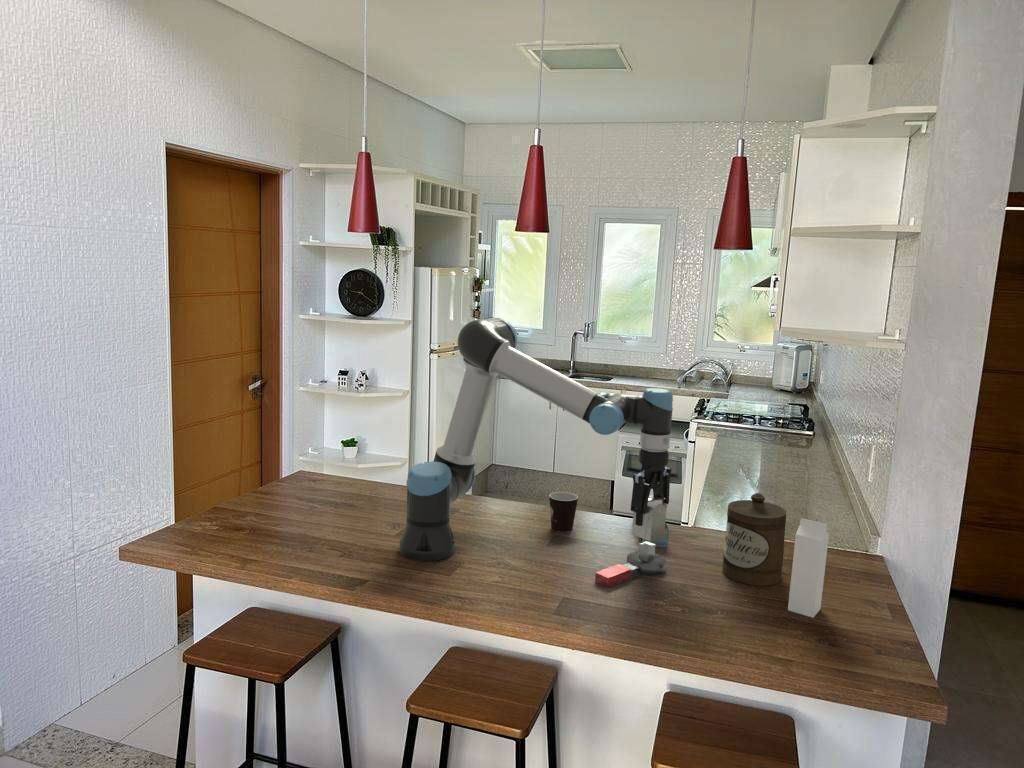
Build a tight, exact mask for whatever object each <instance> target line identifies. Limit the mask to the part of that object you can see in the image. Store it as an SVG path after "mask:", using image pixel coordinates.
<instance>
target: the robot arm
mask: <svg viewBox="0 0 1024 768" xmlns="http://www.w3.org/2000/svg"><path fill="white" fill-rule="evenodd" d="M517 344H518V337H517V332H516V330H515V328H514V326H513V325H512V324H511V323H510V322H509V321H507V320H506V319H504V318H501V317H495V316H488V317H486V318H482V319H475V320H471V321H469V322H468V323H465V325H463V327H462V328H461V329H460V331H459V333H458V337H457V347H458V351H459V353H460V355H461V356H462V358H463V359H462V361H463V363H464V365H465V366H466V368H465V371H464V376H463V377H462V378H463V379H462V383H461V386H460V388H459V392H458V395H457V398H456V402H455V406H454V410H453V412H452V415H451V419H450V423H449V426H448V430H447V433H446V436H445V440H444V444H442V446H439V447H437V448H436V451H435V455H434V458H433V461H426V462H425V461H424V462H419V463H417V464H415V465H413V466H411V468H410V469H409V470H408V473H407V480H406V523H405V526H404V529H403V533H402V536H401V539H400V541H399V548H398V549H399V553H400V555H402V556H403V557H404V558H407V559H409V560H413V561H421V562H432V561H440V560H445V559H448V558H450V557H452V556H453V555H454V554H455V553H456V540H455V537H454V533H453V531H452V528H451V524H450V520H451V519H450V517H451V504H452V503H453V502H455V501H456V500H458V499H460V498H461V497H462V496H463V497H464V495H465V494H467V493H469V491H470V489H471V488H472V487H473V485H474V482H475V480H476V469H475V466H476V462H477V459H476V457H475V456H474V452H475V451H474V450H475V448H476V445H477V441H478V438H479V435H480V430H481V428H482V425H483V421H484V419H485V414H486V411H487V408H488V405H489V403H490V398H491V394H492V391H493V388H494V385H495V382H496V379H497V377H498V376H499V375H500V376H502V377H503V378H505V379H507V380H509V381H511V382H512V383H514V384H517V386H520V387H521V388H523V389H525V390H527V391H529V392H531V393H533V394H535V395H537V396H538V397H541V398H542V399H544V400H546V401H548V403H551V404H552V405H555V406H556V407H559V408H561V409H562V410H564V411H565V412H568V413H569V414H571V415H573V416H575V417H577V418H579V419H580V420H583V421H585V423H588V424H589V425H590V427H591V428H592V430H593V431H594V432H595V433H597V434H599V435H603V436H608V435H612V434H614V433H616V432H617V431H619V429H621V428H622V426H623V425H624V424H632V425H640V427H641V429H640V435H639V436H640V437H639V446H640V448H639V452H638V462H639V463H640V464H641V467H640V468H641V469H640V471H639V473H638V474H636V473H634V474H633V475H632V483H633V484H632V493H631V494H632V495H631V501H630V511H631V512H636V521H635V524H636V530H635V535H634V536H635V537H637V538H639V537H640V538H643V539H644V538H645V533H646V520H647V514H645V510H646V506H647V502H648V499H649V495H650V494H651V491H652V496H656V497H660V498H662V502H664V503H667V505H669V504H670V484H671V483H670V482H671V474H672V468H670V467H666V466H667V465H668V464H669V455H670V451H669V449H670V440H671V430H672V421H673V420H672V418H673V410H674V409H673V408H674V407H673V399H674V398H673V397H674V395H673V393H672V392H671V390H668V389H666V388H659V387H658V388H657V387H656V388H654V387H650V388H645V389H644V390H643V393H642V394H641V395H640V394H639V395H636V394H626V393H616V392H612V391H611V392H603V391H601V392H596V391H594V390H592V389H591V388H589V387H587V386H585V385H583V384H581V383H580V382H577V381H575V380H574V379H572V378H570V377H569V376H566V375H565V374H563V373H561V372H559V371H557V370H555V369H553V368H551V367H549V366H547V365H545V364H544V363H542V362H541V361H538V360H537V359H535V358H532V357H531V356H530V355H527V354H526V353H523V352H521V351H519V350H518V349H516V348H517ZM667 508H668V506H667V507H666V509H667Z"/></svg>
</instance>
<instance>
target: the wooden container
mask: <svg viewBox="0 0 1024 768" xmlns="http://www.w3.org/2000/svg"><path fill="white" fill-rule="evenodd" d="M765 500H766V497H765V496H764V495H763V494H762V493H759V492H756V493H753V494H752V495H751V496H750V499H740V500H733V501H730V502H729V503H728V505H727V514H726V515H727V516H726V526H725V535H724V543H723V544H724V545H723V554H722V555H723V557H722V567H721V568H722V569H721V570H722V573H723V574H724V575H725V576H727V577H728V578H730V579H731V580H734V581H736V582H738V583H742V584H745V585H746V584H747V585H751V586H758V587H759V586H762V587H763V586H770V585H771V586H772V585H775V584H779V582H780V581H781V580H782V573H783V563H784V555H785V554H784V551H785V537H786V536H785V535H786V534H785V533H786V524H787V523H786V520H787V511H786V509H785V508H783V507H781V506H780V505H777V504H775V503H771V502H767V501H765Z"/></svg>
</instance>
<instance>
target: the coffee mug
mask: <svg viewBox="0 0 1024 768" xmlns="http://www.w3.org/2000/svg"><path fill="white" fill-rule="evenodd" d="M548 497H549V499H548V500H549V513H550V527H551V529H552V530H553V531H555V532H558V531H560V532H559V533H568V531H569V532H571V531H573V529H574V522H575V517H576V511H577V506H578V501H579V500H578V499H579V496H578V494H575V493H572V492H568V491H556V492H551V493H549V496H548Z"/></svg>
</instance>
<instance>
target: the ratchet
mask: <svg viewBox="0 0 1024 768" xmlns="http://www.w3.org/2000/svg"><path fill="white" fill-rule="evenodd" d="M666 562H667V561H666V558H665V557H664V556H662V555H660V554H659V553H656V547H655V544H652V543H650V542H647V541H646V542H643V543H641V542H640V543H639V544H638V551H633V552H630V553H629V554H627V557H626V563H624V564H619V563H617V564H614V565H612V566H609V567H606V568H603V569H602V570H599V571H596V572H595V575H594V583H595V584H598V585H600V586H603V587H604V588H607V589H608V588H611V587H615V586H616V585H619V584H621V583H624V582H626V581H629V580H631V579H632V578H634V577H637V576H639V575H643V576H657V575H661V574H663V573H665V570H666Z"/></svg>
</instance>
